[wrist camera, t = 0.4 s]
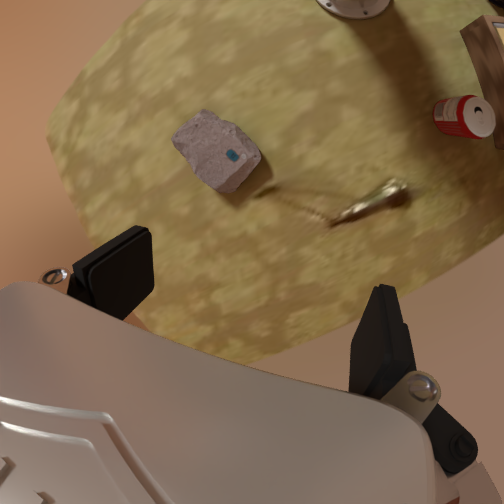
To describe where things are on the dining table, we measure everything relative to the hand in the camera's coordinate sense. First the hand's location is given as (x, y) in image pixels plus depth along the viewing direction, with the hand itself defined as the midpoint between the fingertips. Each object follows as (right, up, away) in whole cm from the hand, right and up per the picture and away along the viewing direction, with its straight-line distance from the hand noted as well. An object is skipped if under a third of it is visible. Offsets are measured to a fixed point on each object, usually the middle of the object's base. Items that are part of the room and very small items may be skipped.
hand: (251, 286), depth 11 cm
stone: (-4, +18, +34) cm, 38 cm away
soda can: (+29, +22, +21) cm, 42 cm away
